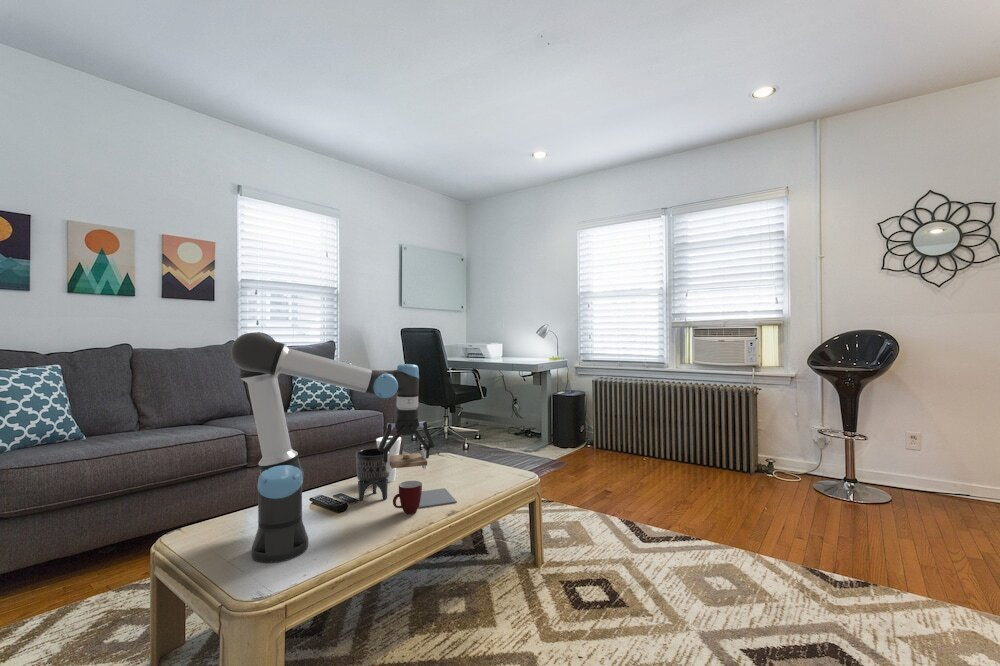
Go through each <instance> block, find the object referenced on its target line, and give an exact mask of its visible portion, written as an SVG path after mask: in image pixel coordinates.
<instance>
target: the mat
mask: <svg viewBox="0 0 1000 666" xmlns="http://www.w3.org/2000/svg"><path fill="white" fill-rule="evenodd" d="M457 503H458V502H457V500H456V498H455V497H454V496H453V495H452V494H451V493H450V492H449V491H448V490H447V489H446V488H445V487H444V488H436V489H429V490H422V493H421V499H420V505H419V507H418V509H426V508H431V507H439V506H445V505H451V504H457Z"/></svg>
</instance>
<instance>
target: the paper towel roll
mask: <svg viewBox="0 0 1000 666" xmlns="http://www.w3.org/2000/svg"><path fill="white" fill-rule="evenodd" d="M393 436H394V435H389V437H388V439H387V442H386V444H385V446H384V448H385V447H386V445H387V444H388V443H389V441H390V440H391V438H392V437H393ZM382 438H383V436H381V437H377V438H376V439H375V441H376V448H378V447H379V445H380V443H381V441H382ZM401 442H402V437H401V436H400V437H399V438H398V439H397V440H396V442H395V443H394V444H393V446H392V447H391V448H390V455H400V450H401ZM397 469H398V468H393V469H392V468H391V466H390V474H389V477H388V478H387V479H388V483H392V482H395V480H396V475H397Z"/></svg>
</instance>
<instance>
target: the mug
mask: <svg viewBox="0 0 1000 666" xmlns="http://www.w3.org/2000/svg"><path fill="white" fill-rule="evenodd" d="M422 486H423V484H422V482H421V481H418V480H407V481H406V480H405V481H402V482H400V483H399V484H398V493H397V494H395V495H394V497H393V499H392V505H393V506H394V508H396V509H402V510H403V512H404V514H405V513H406V514H405V515H414V514H416V513H417V511H418V509H419V505H420V499H421V493H422V491H423V488H422ZM398 498H399V502H400V505H398V504H397V499H398Z"/></svg>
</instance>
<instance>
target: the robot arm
mask: <svg viewBox="0 0 1000 666" xmlns="http://www.w3.org/2000/svg"><path fill="white" fill-rule="evenodd" d="M230 357H231V360H232V362H233V364H234V365H236V366H237V369H238V373H239V376H240V377H239V378H240V380H242V381H243V382H245V383H246V384H247V388H248V393H249V398H250V403H251V408H252V412H253V413H252V414H253V418H254V421H255V422H254V423H255V427H256V431H257V438H258V441H259V447H260V450H261V452H260V453H261V456H262V458H261V459H260V460H259V461H258V469H259V474H260V475H259V476H258V478H257V479H258V481H257V485H256V487H257V492H258V493H257V495H258V496H257V499H258V500H257V502H258V503H257V504H258V505H257V509H258V510H257V513H258V514H257V521H258V522H257V524H258V525H257V526H258V527H257V530H256V533H255V537H254V539H253V543H252V545H251V549H250V551H251V559H252V560H253V561H255V562H259V563H267V564H269V563H272V564H273V563H279V562H283V561H288V560H290V559H294V558H296V557H298V556H300V555H302V554H304V553H305V552H306V551H307V550H308V549H309V537H308V536H309V535H308V533H307V531H306V528H305V525H304V522H303V481H304V470H303V468H302V465H301V462H300V458H299V452H298V451H296V450H294V449H293V448H292V444H291V439H290V435H289V433H290V432H289V429H288V425H287V418H286V415H285V410H284V409H285V408H284V405H283V400H282V399H283V398H282V395H281V389H280V386H279V380H278V379H279V378H278V376H279V375H281V374H282V375H288V376H293V377H297V378H301V379H306V380H309V381H314V382H318V383H323V384H326V385H331V386H333V387H334V386H335V387H339V388H343V389H348V390H352V391H357V392H359V393H360V392H361V393H365V394H369V395H373V396H377V397H378V398H381V399H390V398H392V397H394V396H395V395H396V408H397V409H396V418H395V419H396V420H395V423H390V422H387V423H386V430H385V431H384V434H383V436H382V437H383V438H382V441H381V443H380V445H379V447H378V450H379V451H380V452H383V460H384V462H386V471H387V472H390V452H389V450H390V448H391V447H392V446H393V444H394V443H395V442H396V440H397V439H398V438H399V437H401V436H406V435H408V436H412V435H414V436H415V437H416V438H417V440H418V441H419V442H420V444H421V445H422V446H423V448H422V449H421V451H422V452H421V455H422V456H423V457H424V458H425V459H426V460H427V459H428V460H429V458H430V450H431V449H432V448H434V447H435V444H434V442H433V441H434V440H433V439H432V437H431V434H430V432H429V429H428V423H427V421H425V420H422V421H419V409H418V407H419V385H420V384H419V381H420V374H419V371H420V370H419V366H418V365H417V364H411V363H409V364H408V363H406V364H398V365H397V367H396V369H393V370H387V369H386V370H384V369H383V370H376V369H370V368H367V367H363V366H359V365H355V364H351V363H347V362H344V361H343V362H342V361H339V360H336V359H331V358H327V357H324V356H319V355H316V354H311V353H310V352H309V353H308V352H304V351H300V350H297V349H296V350H295V349H293V348H290V347H288V345H287V344H286V343H283V342H279V341H277V340H275V339H274V337H272V336H271V335H270V334H267V333H266V332H260V331H258V332H257V331H255V332H254V331H253V332H246V333H244V334H242V335H240V336H238V337H237V338H236V339H235V340H234V342H233V343H232V345H231V348H230ZM419 427H420V428H421V429H422V431H423V433H424V436H425V437H426V440H427V442H426V441H425V440H424V439H423V437H422V436H421V435H420V434H419V432H418V430H417V429H418V428H419ZM394 428H395V429H396V431H395V433H394V435H392V436H393V437H392V438H391V440H390V441H389V443H388V444H387V445H386V447H385V448H384V446H385V444H386V442H387V439H388V437H389V436H391V432H392V431H393V430H394ZM427 443H428V444H427ZM421 467H422V469H424V470H425V469H427V465H425V466H421Z"/></svg>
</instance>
